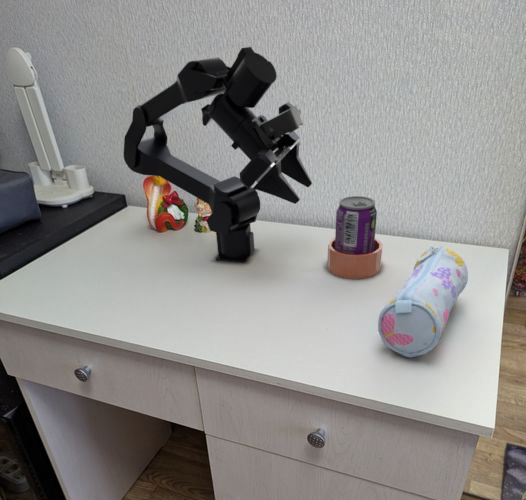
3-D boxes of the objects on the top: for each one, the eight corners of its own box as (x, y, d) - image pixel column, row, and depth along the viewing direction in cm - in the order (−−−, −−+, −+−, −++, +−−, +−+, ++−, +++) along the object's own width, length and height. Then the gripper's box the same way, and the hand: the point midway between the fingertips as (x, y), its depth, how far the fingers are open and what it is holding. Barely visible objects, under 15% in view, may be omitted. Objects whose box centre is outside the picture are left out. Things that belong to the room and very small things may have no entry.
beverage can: (379, 268, 91) (386, 204, 84) (346, 276, 89) (349, 211, 82) (359, 253, 97) (363, 192, 90) (327, 261, 95) (329, 199, 88)
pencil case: (411, 289, 85) (419, 237, 80) (464, 300, 81) (476, 246, 76) (371, 353, 70) (377, 295, 65) (433, 369, 67) (445, 309, 61)
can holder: (323, 276, 91) (324, 253, 88) (332, 254, 98) (333, 232, 96) (377, 281, 88) (380, 257, 86) (382, 258, 96) (384, 236, 93)
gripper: (253, 97, 72) (325, 177, 76) (287, 80, 87) (346, 147, 90) (210, 152, 79) (278, 223, 82) (248, 127, 93) (304, 188, 97)
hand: (304, 193), depth 88 cm, fingers open, 9 cm apart
